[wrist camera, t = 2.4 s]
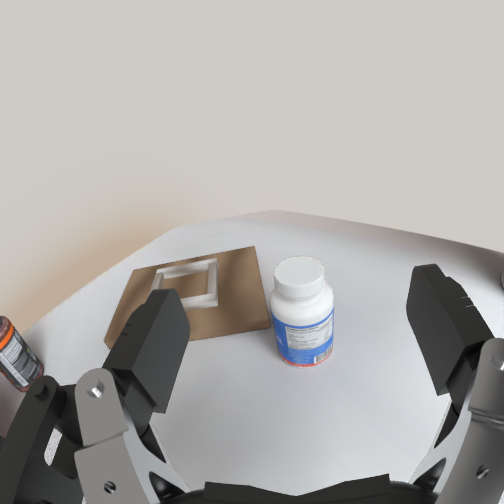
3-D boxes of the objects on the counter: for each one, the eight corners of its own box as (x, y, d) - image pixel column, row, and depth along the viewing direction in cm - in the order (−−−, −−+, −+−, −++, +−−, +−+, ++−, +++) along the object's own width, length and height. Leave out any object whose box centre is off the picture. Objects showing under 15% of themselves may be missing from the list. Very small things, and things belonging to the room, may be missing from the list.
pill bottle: (281, 330, 30) (268, 252, 25) (331, 327, 28) (330, 247, 24) (276, 371, 25) (260, 292, 20) (333, 369, 24) (336, 288, 19)
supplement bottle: (12, 382, 25) (-36, 322, 20) (34, 357, 30) (-8, 295, 24) (26, 400, 23) (-30, 336, 17) (51, 371, 27) (2, 304, 22)
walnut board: (256, 254, 44) (253, 238, 43) (270, 327, 30) (267, 309, 29) (136, 277, 44) (130, 263, 43) (109, 349, 30) (99, 334, 29)
